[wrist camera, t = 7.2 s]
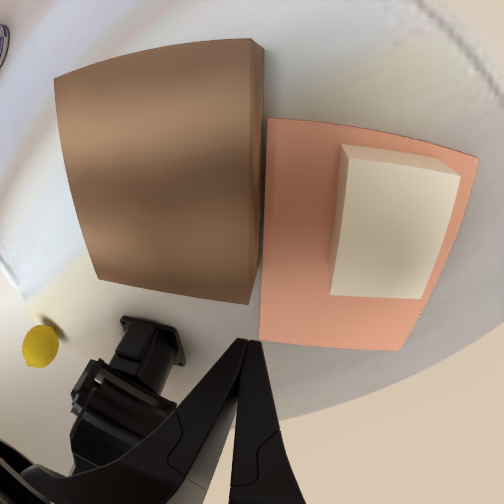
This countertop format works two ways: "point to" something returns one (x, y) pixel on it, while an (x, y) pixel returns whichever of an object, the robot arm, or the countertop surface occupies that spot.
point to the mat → (319, 239)
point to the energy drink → (3, 42)
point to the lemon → (40, 346)
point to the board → (169, 165)
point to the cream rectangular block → (388, 222)
